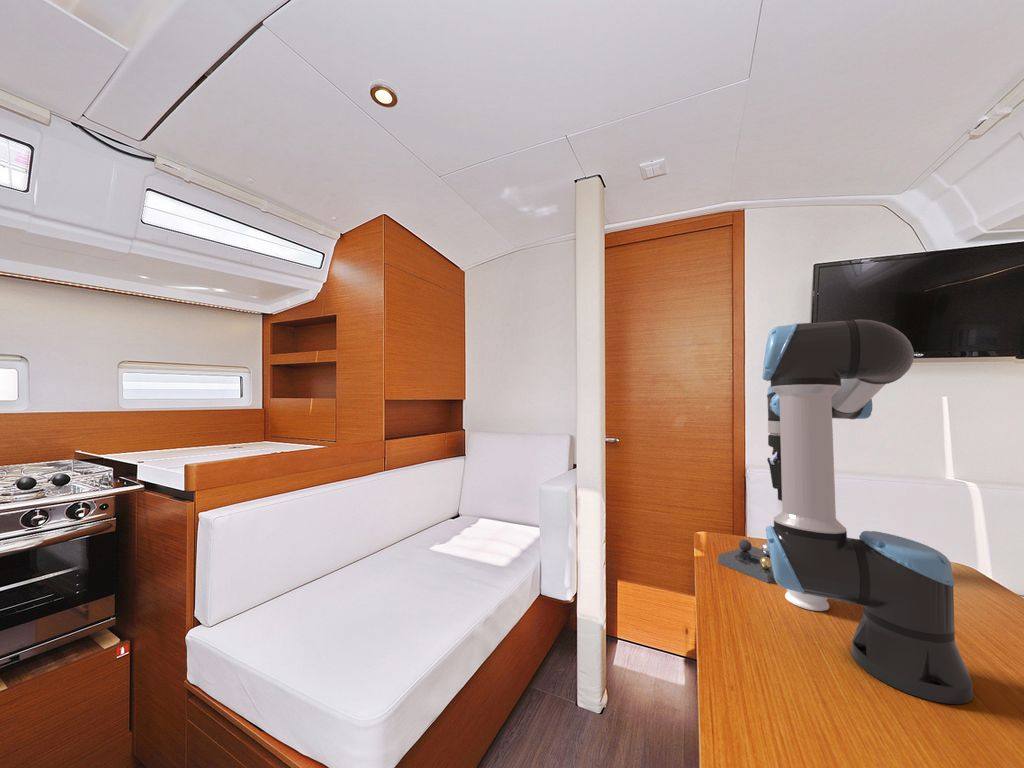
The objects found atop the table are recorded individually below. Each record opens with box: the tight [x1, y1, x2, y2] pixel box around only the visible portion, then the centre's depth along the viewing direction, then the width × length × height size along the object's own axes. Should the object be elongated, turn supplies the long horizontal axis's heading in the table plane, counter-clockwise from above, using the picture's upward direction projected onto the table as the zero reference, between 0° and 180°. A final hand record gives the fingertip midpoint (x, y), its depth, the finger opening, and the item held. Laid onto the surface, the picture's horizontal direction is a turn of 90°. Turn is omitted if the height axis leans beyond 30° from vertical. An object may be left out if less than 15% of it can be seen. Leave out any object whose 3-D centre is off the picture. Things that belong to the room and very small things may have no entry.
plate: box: [717, 545, 776, 584], centre depth 113 cm, size 16×14×2 cm
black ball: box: [738, 539, 753, 552], centre depth 118 cm, size 3×3×3 cm
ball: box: [760, 542, 770, 556], centre depth 115 cm, size 3×3×3 cm
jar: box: [784, 589, 830, 612], centre depth 93 cm, size 11×10×15 cm
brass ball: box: [760, 557, 772, 569], centre depth 106 cm, size 3×3×3 cm
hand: (783, 510), depth 120 cm, fingers closed
